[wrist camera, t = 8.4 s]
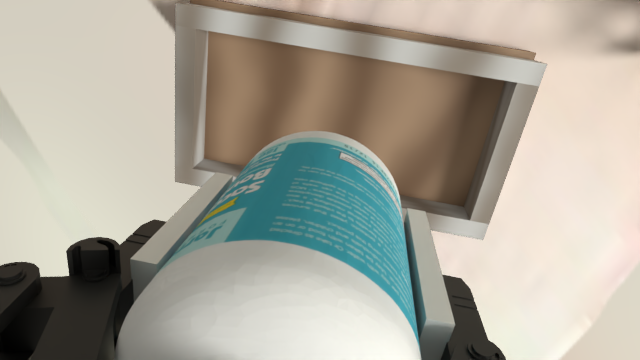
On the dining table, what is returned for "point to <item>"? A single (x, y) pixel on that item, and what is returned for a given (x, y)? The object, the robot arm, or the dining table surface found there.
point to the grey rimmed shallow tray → (352, 102)
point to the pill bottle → (287, 266)
